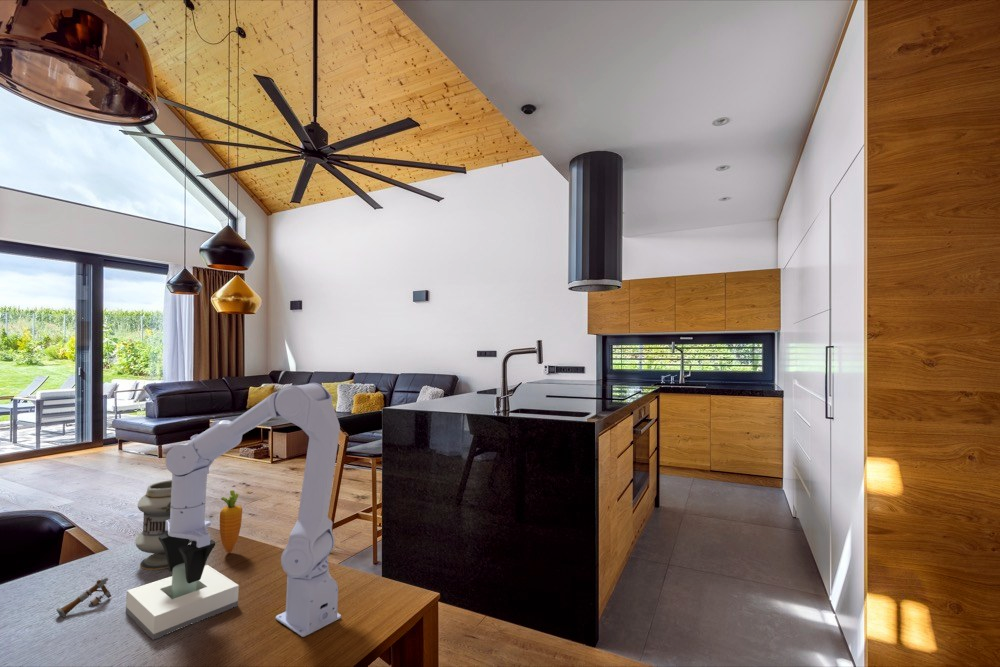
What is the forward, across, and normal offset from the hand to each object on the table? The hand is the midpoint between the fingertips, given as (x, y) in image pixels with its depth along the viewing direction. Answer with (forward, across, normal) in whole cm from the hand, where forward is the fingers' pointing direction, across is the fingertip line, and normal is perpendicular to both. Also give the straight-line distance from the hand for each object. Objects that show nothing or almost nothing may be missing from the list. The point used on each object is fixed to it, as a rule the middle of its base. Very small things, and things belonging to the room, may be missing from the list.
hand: (184, 575), depth 91 cm
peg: (+5, 0, 0) cm, 5 cm away
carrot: (+6, +19, -18) cm, 26 cm away
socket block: (+6, 0, 0) cm, 6 cm away
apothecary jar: (+6, +26, -7) cm, 28 cm away
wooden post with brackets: (+7, +15, +11) cm, 20 cm away
